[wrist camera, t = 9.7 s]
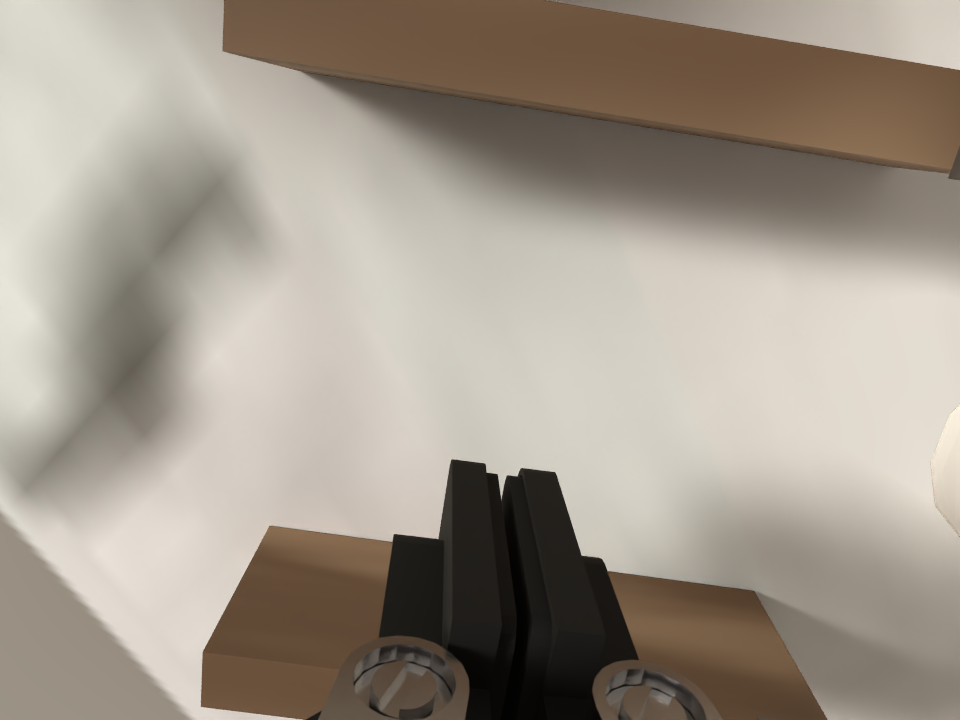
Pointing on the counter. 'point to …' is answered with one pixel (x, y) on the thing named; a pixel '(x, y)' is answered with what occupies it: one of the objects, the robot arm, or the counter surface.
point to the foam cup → (948, 471)
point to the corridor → (593, 94)
